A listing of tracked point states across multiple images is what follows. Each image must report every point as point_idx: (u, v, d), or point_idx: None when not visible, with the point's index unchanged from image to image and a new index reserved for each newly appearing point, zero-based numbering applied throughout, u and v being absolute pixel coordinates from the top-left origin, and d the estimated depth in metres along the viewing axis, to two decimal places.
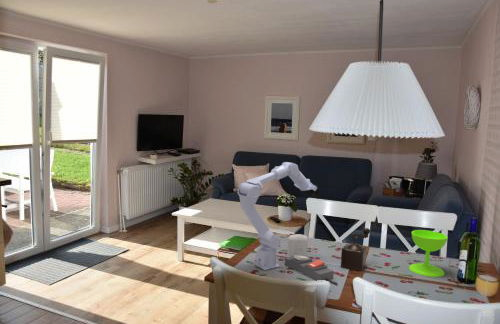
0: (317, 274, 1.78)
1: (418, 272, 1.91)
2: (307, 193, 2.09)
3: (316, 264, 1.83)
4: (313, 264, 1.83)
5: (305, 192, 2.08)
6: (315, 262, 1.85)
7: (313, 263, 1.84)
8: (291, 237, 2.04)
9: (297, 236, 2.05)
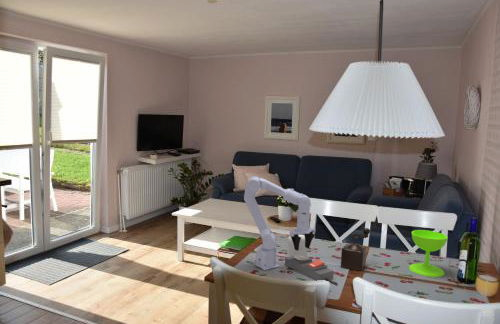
0: (317, 274, 1.78)
1: (418, 272, 1.91)
2: (306, 245, 1.94)
3: (316, 264, 1.83)
4: (313, 264, 1.83)
5: (306, 242, 1.94)
6: (315, 262, 1.85)
7: (313, 263, 1.84)
8: None
9: None
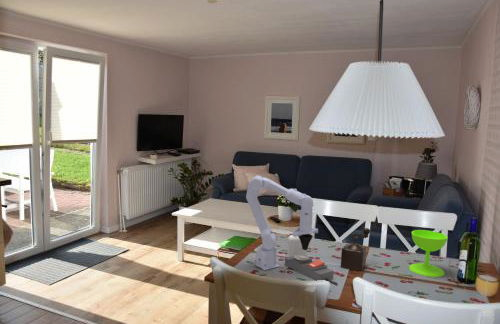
0: (317, 274, 1.78)
1: (418, 272, 1.91)
2: None
3: (316, 264, 1.83)
4: (313, 264, 1.83)
5: None
6: (315, 262, 1.85)
7: (313, 263, 1.84)
8: (291, 237, 2.04)
9: (297, 236, 2.05)
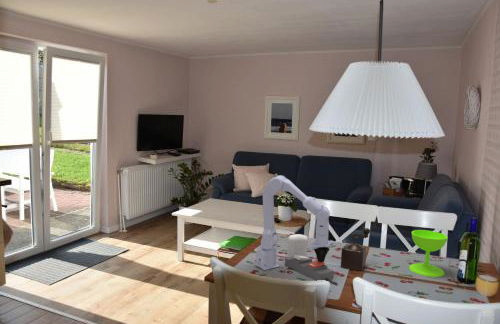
0: (317, 274, 1.78)
1: (418, 272, 1.91)
2: None
3: (316, 264, 1.83)
4: (313, 264, 1.83)
5: None
6: (315, 262, 1.85)
7: (313, 263, 1.84)
8: (291, 237, 2.04)
9: (297, 236, 2.05)
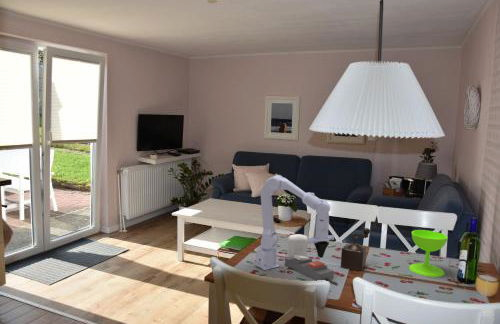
0: (317, 274, 1.78)
1: (418, 272, 1.91)
2: None
3: (316, 264, 1.83)
4: (313, 263, 1.83)
5: None
6: (315, 262, 1.85)
7: (313, 263, 1.84)
8: (291, 237, 2.04)
9: (297, 236, 2.05)
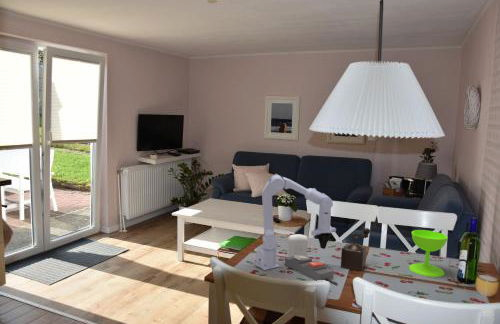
0: (317, 274, 1.78)
1: (418, 272, 1.91)
2: None
3: (316, 264, 1.83)
4: (313, 263, 1.83)
5: None
6: (315, 262, 1.85)
7: (313, 262, 1.84)
8: (291, 237, 2.04)
9: (297, 236, 2.05)
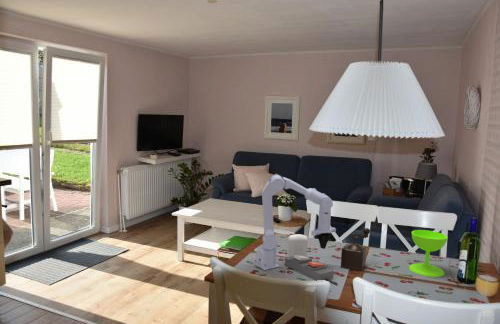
0: (317, 274, 1.78)
1: (418, 272, 1.91)
2: None
3: (316, 263, 1.83)
4: (313, 263, 1.83)
5: None
6: (315, 262, 1.85)
7: (313, 262, 1.84)
8: (291, 237, 2.04)
9: (297, 236, 2.05)
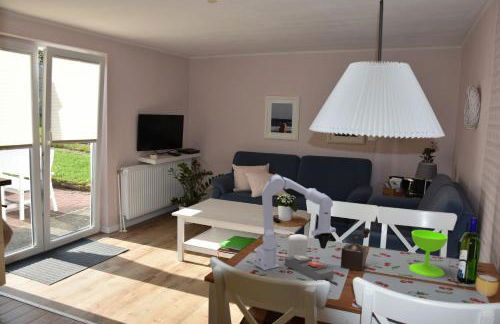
0: (317, 274, 1.78)
1: (418, 272, 1.91)
2: None
3: (316, 263, 1.83)
4: (314, 262, 1.83)
5: None
6: (315, 262, 1.85)
7: (313, 262, 1.84)
8: (291, 237, 2.04)
9: (297, 236, 2.05)
